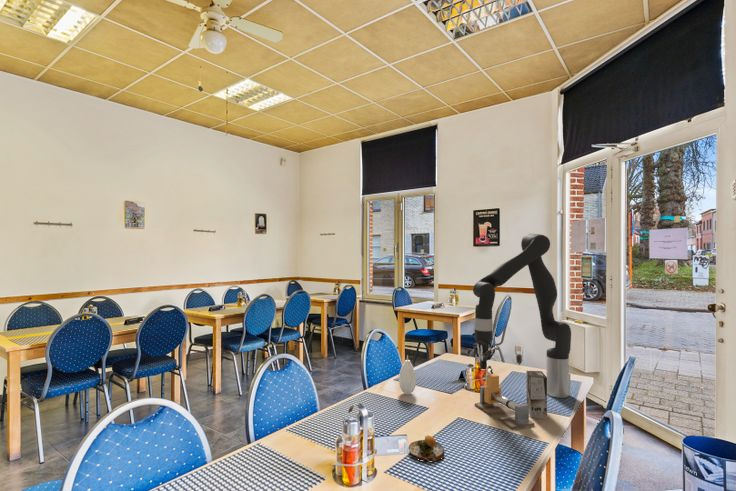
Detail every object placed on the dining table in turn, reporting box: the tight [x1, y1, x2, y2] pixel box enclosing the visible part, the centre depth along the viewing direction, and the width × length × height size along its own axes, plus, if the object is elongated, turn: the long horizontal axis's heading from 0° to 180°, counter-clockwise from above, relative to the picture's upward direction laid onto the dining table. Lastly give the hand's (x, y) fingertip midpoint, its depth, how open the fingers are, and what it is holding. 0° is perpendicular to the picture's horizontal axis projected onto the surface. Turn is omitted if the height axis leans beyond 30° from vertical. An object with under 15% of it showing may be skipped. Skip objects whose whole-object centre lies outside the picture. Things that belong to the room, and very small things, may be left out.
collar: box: [484, 373, 502, 404], centre depth 170 cm, size 3×6×11 cm, turn 110°
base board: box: [474, 402, 535, 431], centre depth 164 cm, size 24×10×1 cm, turn 20°
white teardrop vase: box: [398, 354, 417, 396], centre depth 187 cm, size 8×8×18 cm
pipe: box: [479, 385, 530, 426], centre depth 164 cm, size 24×5×7 cm, turn 20°
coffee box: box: [525, 370, 548, 419], centre depth 166 cm, size 9×6×16 cm
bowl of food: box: [408, 434, 445, 462], centre depth 134 cm, size 12×12×8 cm
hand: (483, 368), depth 176 cm, fingers closed
